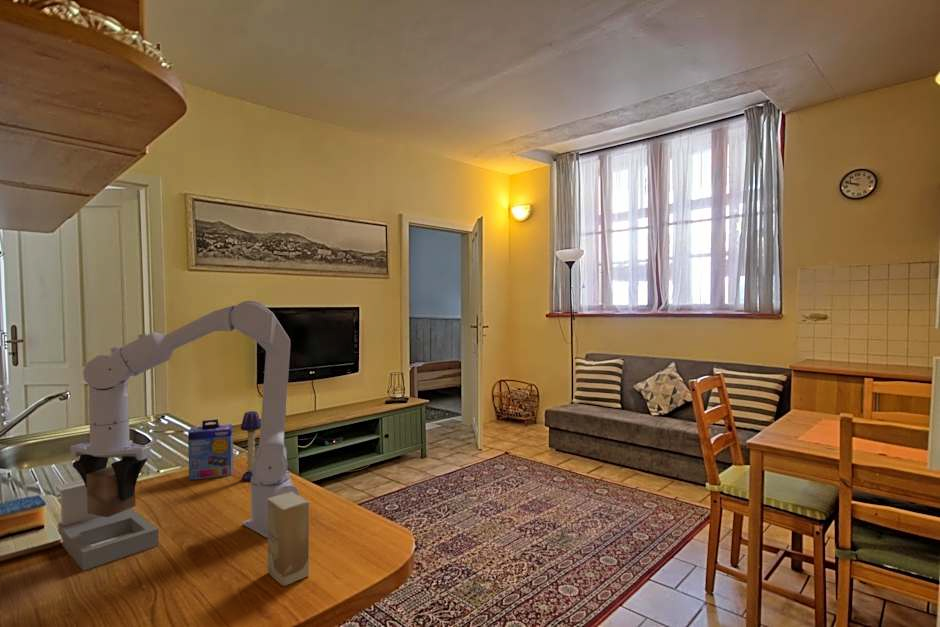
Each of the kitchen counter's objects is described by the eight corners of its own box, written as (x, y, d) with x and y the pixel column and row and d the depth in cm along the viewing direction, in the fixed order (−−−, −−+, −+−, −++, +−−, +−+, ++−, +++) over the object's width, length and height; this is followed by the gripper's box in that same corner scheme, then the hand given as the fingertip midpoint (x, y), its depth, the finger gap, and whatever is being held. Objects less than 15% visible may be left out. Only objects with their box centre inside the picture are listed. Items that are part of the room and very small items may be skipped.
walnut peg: (135, 506, 91) (134, 467, 91) (107, 517, 86) (106, 477, 86) (116, 502, 93) (115, 465, 93) (87, 513, 88) (86, 474, 88)
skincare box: (266, 572, 81) (265, 497, 81) (292, 562, 84) (291, 490, 84) (284, 588, 76) (282, 508, 76) (310, 577, 79) (309, 500, 79)
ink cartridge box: (188, 481, 123) (186, 423, 123) (191, 474, 129) (189, 418, 128) (232, 475, 127) (231, 419, 127) (233, 469, 132) (232, 414, 132)
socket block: (158, 545, 90) (157, 490, 90) (83, 570, 82) (81, 510, 82) (126, 519, 102) (125, 470, 101) (57, 539, 93) (56, 486, 93)
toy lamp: (265, 475, 127) (264, 410, 126) (256, 482, 122) (254, 414, 122) (247, 475, 127) (246, 410, 127) (237, 482, 123) (236, 414, 122)
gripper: (163, 417, 92) (164, 491, 92) (94, 415, 94) (96, 487, 95) (131, 427, 85) (133, 506, 85) (58, 424, 87) (60, 501, 88)
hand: (111, 497), depth 90 cm, fingers closed on walnut peg, 6 cm apart
